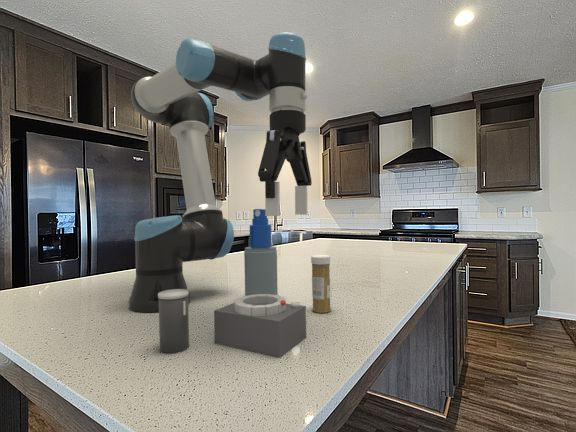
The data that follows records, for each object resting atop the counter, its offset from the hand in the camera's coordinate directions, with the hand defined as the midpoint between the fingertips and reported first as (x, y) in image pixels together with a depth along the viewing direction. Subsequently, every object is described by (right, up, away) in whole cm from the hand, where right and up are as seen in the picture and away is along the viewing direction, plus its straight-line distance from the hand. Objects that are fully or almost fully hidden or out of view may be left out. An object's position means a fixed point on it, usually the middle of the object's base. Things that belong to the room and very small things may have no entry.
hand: (288, 215), depth 71 cm
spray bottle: (-7, -23, +22) cm, 33 cm away
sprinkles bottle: (+8, -23, +11) cm, 27 cm away
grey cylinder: (-20, -24, -10) cm, 33 cm away
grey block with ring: (-5, -24, -7) cm, 25 cm away
